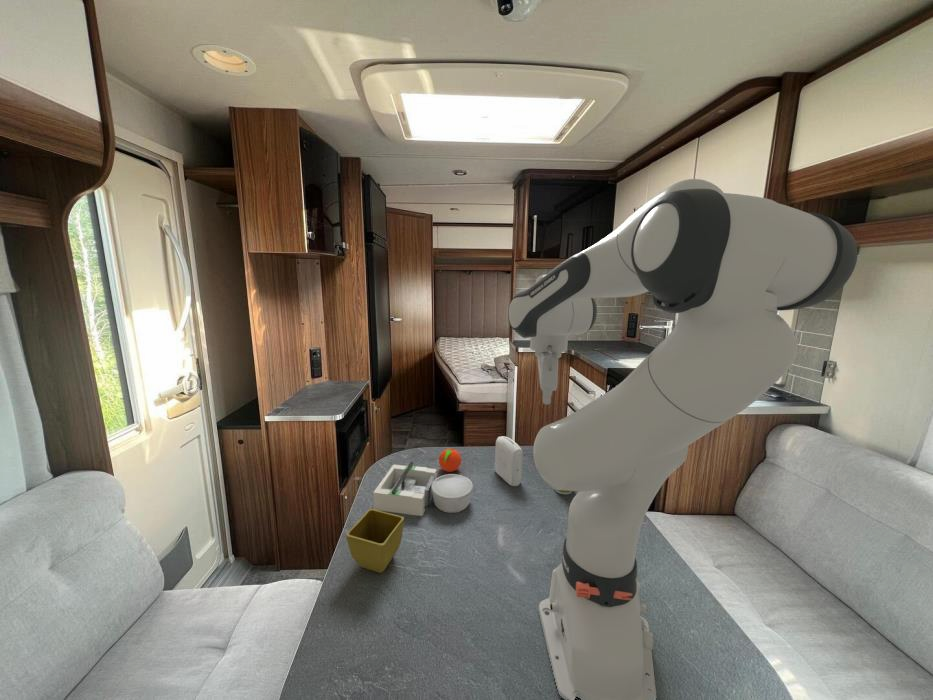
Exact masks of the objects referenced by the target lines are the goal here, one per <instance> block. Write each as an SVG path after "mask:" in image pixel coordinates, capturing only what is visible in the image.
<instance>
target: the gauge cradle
mask: <svg viewBox="0 0 933 700" xmlns="http://www.w3.org/2000/svg"><path fill="white" fill-rule="evenodd" d="M408 465H409V464H407V465H402V464H392V465H391V467H390V468H389V470H387V473H386V474H385V476H384V477H383V478H382V480H381V481H380V483H379V484H378V485H377V487H376V488H375V490H373V493H372V494H373V495H372V496H373V509H374V510H378V511H382V512H386V513H394V514H395V513H396V514H403V515H411V516H418V517H423V515H424V513H425V511H426V509H425V507H426V506H425V499H424V494H421V493H415V492H410V491H402V490H397V491H396V492H395V494H392V493H391V492H392V490H393V487H394V486H395V484H396V482H397V481H398V479H399V478H400V477H401V476H402V475H403V473H404V472H405V470H406V468H407V467H408ZM432 475H433V476H435V479H436V478H438V477H437V469H436V468H428V467H426V466H416V465H415V466H414V465H412V467H411V468H410V470H409V472H408V473H407V475H406V476H405V478H412V479H417V486H424V487H426V486H427V484H428V482H429V480H430V478H431V476H432Z"/></svg>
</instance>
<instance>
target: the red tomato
mask: <svg viewBox="0 0 933 700" xmlns="http://www.w3.org/2000/svg"><path fill="white" fill-rule="evenodd" d="M438 463H439V466H440V468H441V469H442V470H443V471H445V472H449V473H452V472H454V471H457V470H458V469H459V468H460V466H461V463H462V457H461V454H460V452H459V451H457V450H456V449H454V448H449V447H448V448H446V449H444V450H443V451H442V452H441V453H440V454H439V457H438Z"/></svg>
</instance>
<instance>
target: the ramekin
mask: <svg viewBox="0 0 933 700" xmlns="http://www.w3.org/2000/svg"><path fill="white" fill-rule="evenodd" d="M473 489H474V485H473V482H472V480H471V479H469V477H466V476H464V475H461V474H456V473H455V474H454V473H450V474H449V473H448V474H444V475H441V476H439V477H437V478H436V479H435V480H434V481H433V483H432V485H431V491H432V493H433V497H432V499H433V503H434V506H436V508H437V509H438V510H439V511H442V512H444V513H448V514H453V513H459V512H462V511H464V510H465V509H466V508H467V507H469V505H470V502H471V497H472V493H473V491H474V490H473Z"/></svg>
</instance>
